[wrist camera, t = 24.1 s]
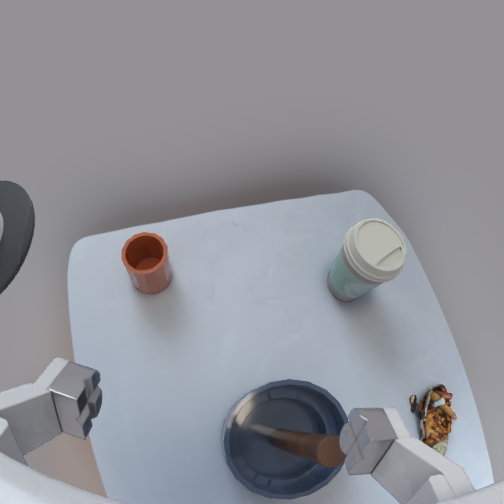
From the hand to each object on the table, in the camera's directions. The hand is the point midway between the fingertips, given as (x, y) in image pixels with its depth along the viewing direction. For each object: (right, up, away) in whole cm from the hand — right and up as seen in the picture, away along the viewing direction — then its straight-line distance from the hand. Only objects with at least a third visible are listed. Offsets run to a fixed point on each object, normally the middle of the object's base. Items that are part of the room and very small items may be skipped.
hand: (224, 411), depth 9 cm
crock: (-13, +2, +35) cm, 37 cm away
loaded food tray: (+28, -21, +29) cm, 46 cm away
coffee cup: (+15, 0, +38) cm, 41 cm away
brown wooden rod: (+4, -18, +26) cm, 32 cm away
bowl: (+4, -18, +26) cm, 32 cm away
